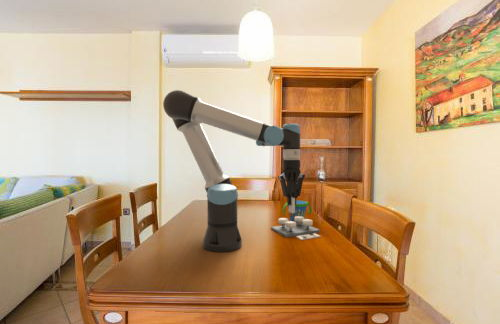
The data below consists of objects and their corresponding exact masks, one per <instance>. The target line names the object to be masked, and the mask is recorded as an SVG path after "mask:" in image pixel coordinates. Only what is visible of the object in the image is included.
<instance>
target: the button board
mask: <svg viewBox="0 0 500 324" xmlns="http://www.w3.org/2000/svg"><path fill="white" fill-rule="evenodd" d="M271 230H272V231H273V232H275V233H276V234H279V235H281V236H282V237H285V238H292V237H296V236H300V235H307V234H313V233H315V234H318V233H320V232H321V230H320V229H319V228H317V227H314V226H313V225H311V226H309V228H306V225H303V224H302V222H301V225H298V223H296V227H295V228H292V230H289V228H288V227H286V224H285V227H282V225H275V226H271Z"/></svg>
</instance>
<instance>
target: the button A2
mask: <svg viewBox="0 0 500 324" xmlns="http://www.w3.org/2000/svg"><path fill="white" fill-rule="evenodd" d="M277 221H278V223H277V224H279V225H281V226H282V227H285V225H286V222H287V221H289V219H288V218H287V217H280V218H278V220H277Z"/></svg>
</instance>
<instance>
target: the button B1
mask: <svg viewBox="0 0 500 324" xmlns="http://www.w3.org/2000/svg"><path fill="white" fill-rule="evenodd" d="M313 222H314V221H313V220H312V219H309V218H305V219H303V220H302V222H301V223H302V224H303V225H306V228H309V226H313Z"/></svg>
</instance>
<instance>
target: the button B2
mask: <svg viewBox="0 0 500 324" xmlns="http://www.w3.org/2000/svg"><path fill="white" fill-rule="evenodd" d="M303 219H304V217H302V216H295V222H296V223H297V224H298V225H301V223H302V220H303Z"/></svg>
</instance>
